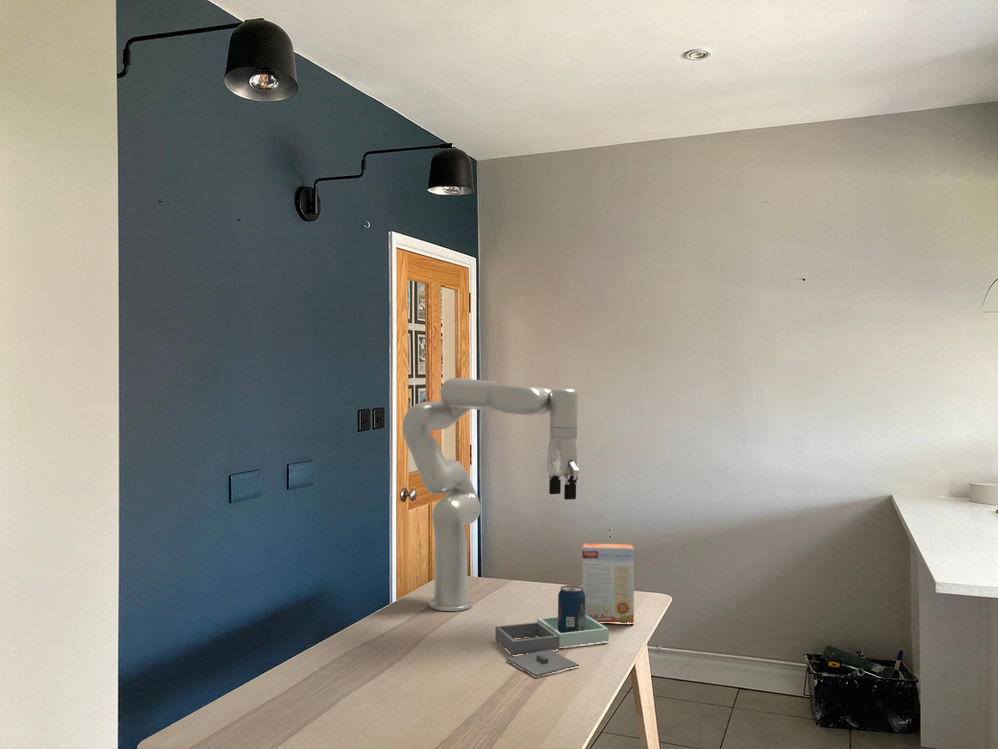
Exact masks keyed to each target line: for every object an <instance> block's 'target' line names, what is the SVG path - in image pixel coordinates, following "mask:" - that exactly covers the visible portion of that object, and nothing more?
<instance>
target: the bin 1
mask: <svg viewBox="0 0 998 749" xmlns="http://www.w3.org/2000/svg"><path fill="white" fill-rule="evenodd" d="M494 632H495V635H494V636H495V640H496V641H497V642H498V643H500V644H501V645H502V646H503V647H504V648H506V649H507V650H508V651H509V652H510V653H511V654H512V655H518V654H527V653H532V652H537V651H541V650H546V649H549V650H556V649H559V636H558V635H556V634H555V633H554V632H552V631H551V630H550V629H548V628H547V627H546V626H544V625H543V624H541V623H540V622H537V621H535V622H527V623H526V622H525V623H518V624H517V623H516V624H508V625H499V626H495V631H494ZM535 636H538V637H539V638H538V637H535ZM524 637H535V638H526V639H518V640H514V639H515V638H524ZM496 641H495V642H496ZM497 642H496V643H497ZM498 643H497V644H498ZM502 646H501V647H502ZM503 647H502V648H503ZM504 648H503V649H504ZM559 650H560V649H559Z"/></svg>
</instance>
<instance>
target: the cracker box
mask: <svg viewBox="0 0 998 749" xmlns="http://www.w3.org/2000/svg"><path fill="white" fill-rule="evenodd" d="M581 548H582V549H581V551H582V552H581V587H582V588H583V592H584V594H585V614H586V615H587V616H589V617H591V618H592V619H594V620H595V621H597V622H621V623H627V622H629V623H630V622H631V623H633V622H634V623H635V621H634V620H635V619H634V617H635V613H634V612H635V610H634V608H635V602H634V601H635V600H634V599H635V597H634V596H635V591H634V590H635V582H634V581H635V580H634V579H635V572H634V571H635V566H634V565H635V563H634V562H635V548H634V546H633V544H629V543H628V544H627V543H626V544H625V543H623V544H622V543H621V544H620V543H619V544H618V543H584V542H583V543H582V545H581Z"/></svg>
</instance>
